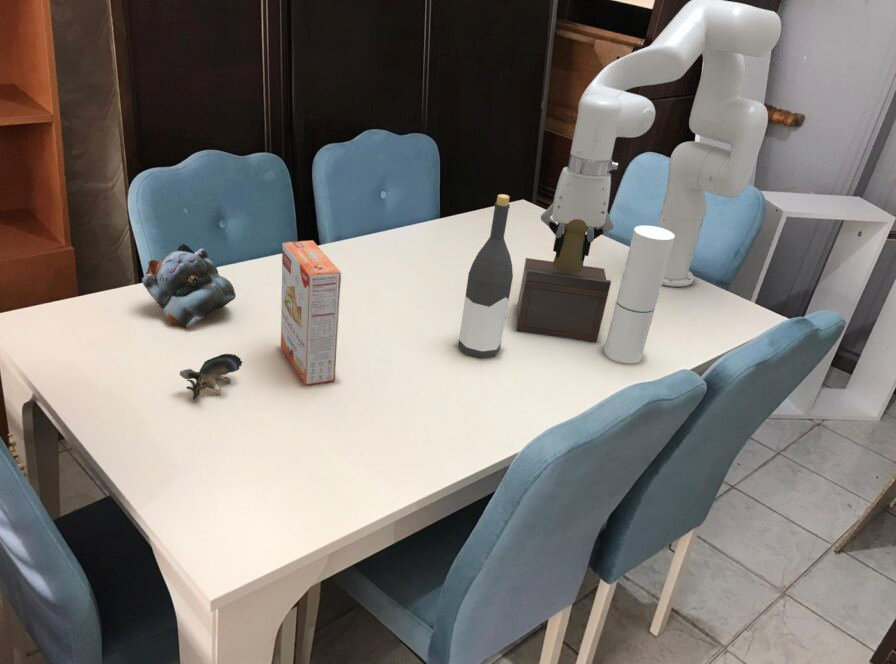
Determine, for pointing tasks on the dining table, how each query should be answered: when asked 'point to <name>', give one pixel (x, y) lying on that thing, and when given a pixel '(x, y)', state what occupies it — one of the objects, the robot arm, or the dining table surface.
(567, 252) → the olive brown pepper mill
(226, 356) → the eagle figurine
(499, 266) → the wine bottle
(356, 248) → the dining table surface
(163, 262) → the lucky cat figurine
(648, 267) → the cylindrical container
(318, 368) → the cracker box
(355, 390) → the dining table surface
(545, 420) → the dining table surface
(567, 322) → the dark wooden chest
